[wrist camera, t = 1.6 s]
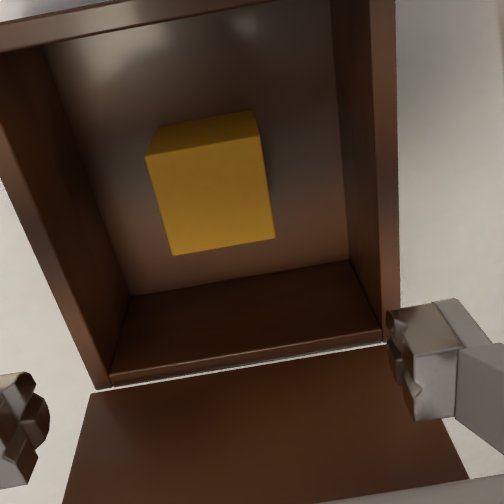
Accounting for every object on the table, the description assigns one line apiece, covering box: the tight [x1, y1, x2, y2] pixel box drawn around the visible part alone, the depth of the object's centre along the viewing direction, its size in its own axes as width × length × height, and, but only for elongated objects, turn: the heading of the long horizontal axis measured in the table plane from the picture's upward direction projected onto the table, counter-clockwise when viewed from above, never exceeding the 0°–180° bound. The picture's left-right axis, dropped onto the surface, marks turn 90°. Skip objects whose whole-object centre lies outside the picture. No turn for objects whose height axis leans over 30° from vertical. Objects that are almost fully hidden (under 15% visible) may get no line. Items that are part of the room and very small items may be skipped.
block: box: [144, 110, 276, 256], centre depth 21 cm, size 4×4×4 cm
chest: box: [0, 0, 400, 390], centre depth 20 cm, size 15×14×7 cm
